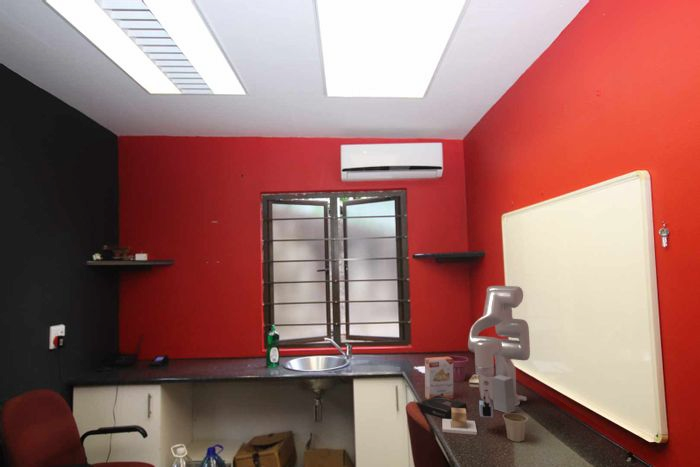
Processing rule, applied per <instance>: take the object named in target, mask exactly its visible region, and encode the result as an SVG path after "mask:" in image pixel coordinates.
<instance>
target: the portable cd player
mask: <svg viewBox="0 0 700 467" xmlns="http://www.w3.org/2000/svg"><path fill="white" fill-rule="evenodd" d="M418 405H419V407H420V409H421V411H422V412H421V413H424V414H427V415H430V416H433V417H435V418H436V417H437V418H438V419H441V420H442V419H452V409H451V408H465V409H466V411H467V410H468V408H467V403H466V402H463V401H459V400H455V399H448V398H444V397H440V396H435V397H432V398H430V399H427V398H426V399H425V400H422V401H420V402H418V403H417V406H418Z"/></svg>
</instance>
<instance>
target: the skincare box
mask: <svg viewBox="0 0 700 467" xmlns="http://www.w3.org/2000/svg"><path fill="white" fill-rule="evenodd" d="M492 385H493V400H492V401H493V402H492V405H493V410H496V411H498V412H501V413H503V414H506V413H515V412H516V411H517V410H516V408H517V406H515V397H514V386H513V378H510V377H506V376H502V375H498V376H496V375H493V376H492Z"/></svg>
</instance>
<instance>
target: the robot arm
mask: <svg viewBox="0 0 700 467" xmlns="http://www.w3.org/2000/svg"><path fill="white" fill-rule="evenodd" d="M523 299H524V291H523V289H522V288H521V287H520V286H517V285H513V286H512V285H491V286H487V288H486V296H485V300H484V308H483V314H482V316H480V318H478V319H477V320H476V321H475V322H474V323H473V324H472V325H471V327H470V330H469V334H468V341H467V346H468V347H467V348H468V349H469V351H470V352H471V353H474V365H475V366H474V368H475V375H477V376H478V389H479V393H480V398H481V401H483V416H489V417H488V418H491V417H490V416H491V406H490V401H493V385H492V377H493V376H498V375H502V376H506V377H510V378H513V386H514V397H515V407H517V406H519V405H520V403H521V401H527V400H528V399H527V396H523V394H522V395H521V394H520V395H518V393H517V380H516V379H517V378H516V367H515V364H514V363H513V361H512V360H515V361H528V360H529V359H530V356H531V346H530V345H531V344H530V343H531V342H530V341H531V340H530V327H529V324H528V322H527V321H526V320H525V319H522V318H514V317H513V309H515V308H518V307H519V306H520V304H521V303H522V302H523ZM491 327H495V333H496V335H497V336H499V337H503V338H497V337H494V336H484V335H479V333H481V332H482V331H484V330H486V329H489V328H491ZM506 338H511V339H506ZM513 338H514V339H513ZM517 339H518V340H517ZM494 360H495V361H494ZM494 362H495V363H494ZM494 364H495V366H494ZM494 367H495V369H494ZM494 373H495V374H494ZM484 401H485V402H484Z"/></svg>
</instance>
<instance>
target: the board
mask: <svg viewBox="0 0 700 467" xmlns="http://www.w3.org/2000/svg"><path fill="white" fill-rule="evenodd" d="M441 420H442V433H447V434H448V433H450V434H451V433H452V434H461V435H463V434H464V435H474V436H476V435H478V431H477V426H476V422H475V420H469V419H466V422H467V428H461V427H452V418H450V419H442V418H441Z"/></svg>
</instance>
